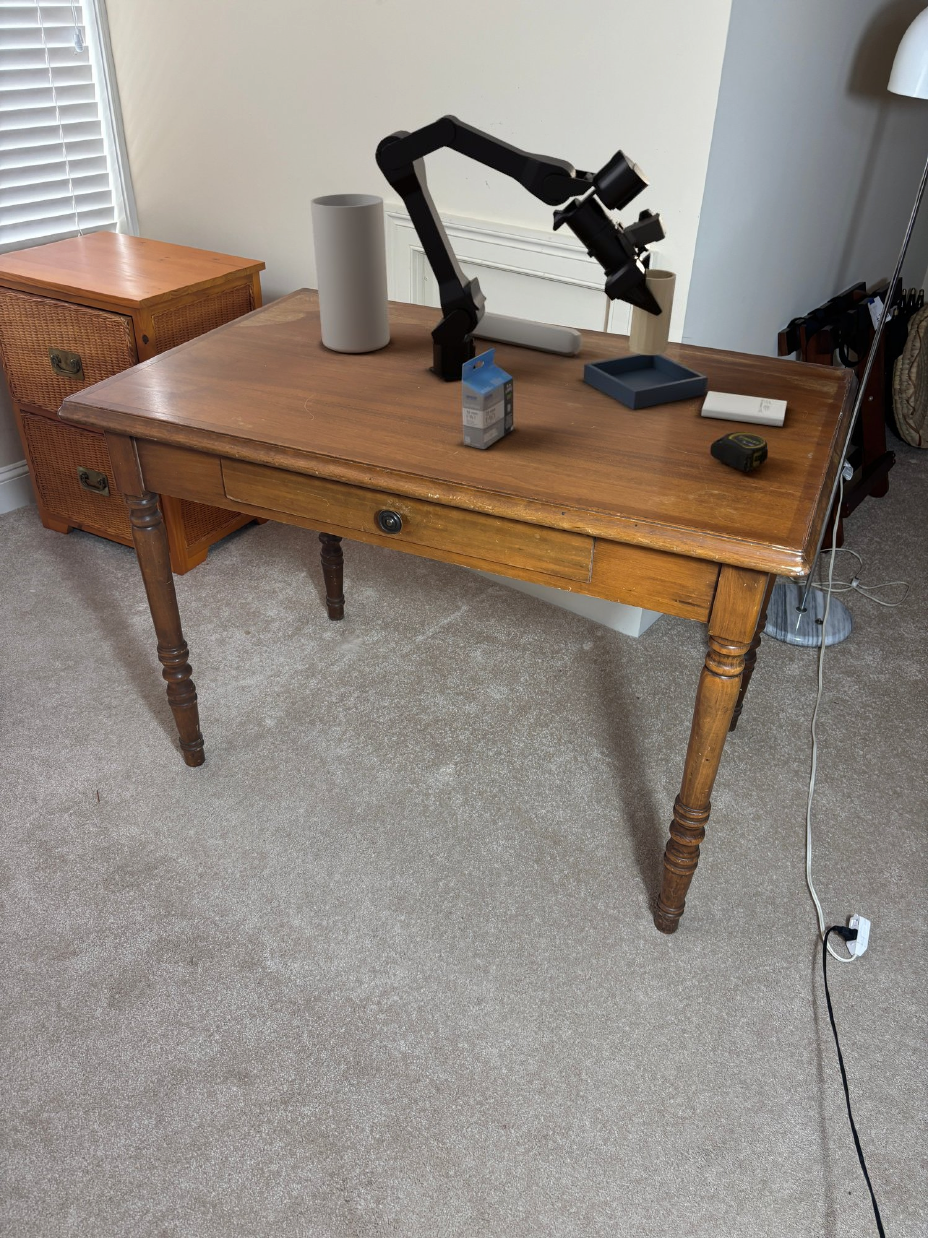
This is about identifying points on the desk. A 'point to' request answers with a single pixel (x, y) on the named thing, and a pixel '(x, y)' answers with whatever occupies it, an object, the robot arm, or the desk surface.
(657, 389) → the tray
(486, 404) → the label tape box
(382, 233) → the cylinder vase
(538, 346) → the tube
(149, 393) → the desk surface
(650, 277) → the pencil cup
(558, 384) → the desk surface
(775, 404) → the hard drive
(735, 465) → the tape measure
